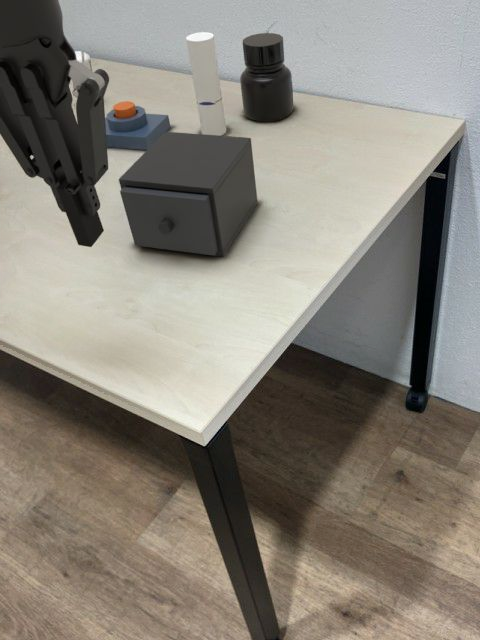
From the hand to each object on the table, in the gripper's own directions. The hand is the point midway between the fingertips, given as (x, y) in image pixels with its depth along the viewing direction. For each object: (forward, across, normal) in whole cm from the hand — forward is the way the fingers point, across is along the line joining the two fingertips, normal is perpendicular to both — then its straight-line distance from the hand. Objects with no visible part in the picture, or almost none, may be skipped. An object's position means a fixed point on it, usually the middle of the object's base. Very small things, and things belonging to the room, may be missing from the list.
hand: (91, 237), depth 62 cm
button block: (+16, +22, -45) cm, 53 cm away
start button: (+13, +22, -45) cm, 52 cm away
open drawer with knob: (+13, -1, -19) cm, 23 cm away
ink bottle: (+17, +1, -58) cm, 60 cm away
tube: (+16, +8, -49) cm, 52 cm away
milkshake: (+18, +37, -57) cm, 70 cm away
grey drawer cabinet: (+14, -1, -21) cm, 25 cm away
